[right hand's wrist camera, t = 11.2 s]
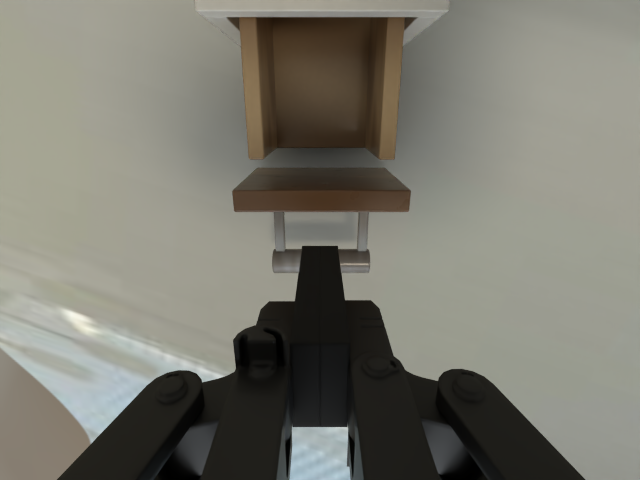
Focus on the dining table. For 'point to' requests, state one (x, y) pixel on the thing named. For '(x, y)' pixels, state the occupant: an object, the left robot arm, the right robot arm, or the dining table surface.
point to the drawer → (321, 120)
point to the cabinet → (321, 12)
